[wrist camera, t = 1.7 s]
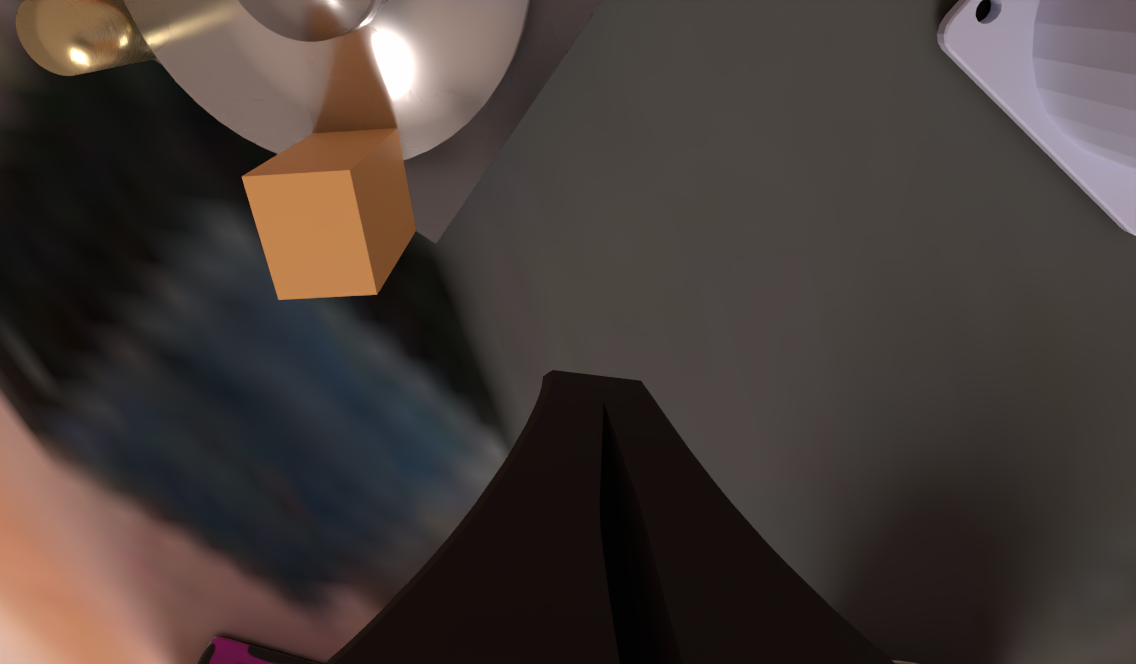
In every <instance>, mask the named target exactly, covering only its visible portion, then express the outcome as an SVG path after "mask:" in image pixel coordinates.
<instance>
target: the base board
mask: <svg viewBox="0 0 1136 664" xmlns="http://www.w3.org/2000/svg"><path fill="white" fill-rule="evenodd" d="M601 1H602V0H530V5H529V10H528V14H527V19H526V23H525V28H524V31H523V34H522V37H521V40H520V42H519V45H518V48H517V51H516V54H515V56H514V58H513V60H512V62H511V64H510V66H509V68H508V69H507V71H506V73H505V75H504V77H503V78H502V80H501V81H500V83H499V84H498V86H497V87H496V89H495V90H494V92H493V93H492V95H491V96H490V98H489V99H488V100H487V102H486V103H485V105H484V106H483V107H482V108H481V109H480V110H479V111H478V112H477V113H476V115H475V116H474V117H473V118H472V119H471V120H470V121H469V122H468V123H467V124H466V125H465V126H463V127H462V128H461V129H460V130H459V131H457V132H456V133H455V134H454V135H453V136H451V137H450V138H448V139H447V140H445V141H444V142H442V143H440V144H439V145H437V146H435V147H434V148H432V149H431V150H428V151H426V152H424V153H421V154H419V155H417V156H414V157H412V158H410V159H407V160H403V161H404V167H405V172H406V178H407V183H408V189H409V194H410V200H411V205H412V211H413V216H414V222H415V228H416V231H417V232H419V233H420V234H422V235H423V236H425V237H426V238H428V239H429V240H431V241H432V242H434V243H435V244H436V243H437V242H438V240H439V239H440V237H441V236H442V234H443V233H444V232H445V230H446V229H447V227H448V226H449V224H450V223H451V221H452V220H453V218H454V217H455V215H456V214H457V212H458V211H459V210H460V208H461V207H462V205H463V204H464V202H465V201H466V199H467V198H468V196H469V195H470V193H471V192H472V190H473V189H474V188H475V186H476V185H477V183H478V182H479V180H480V179H481V177H482V176H483V174H484V173H485V171H486V170H487V168H488V167H489V166H490V164H491V163H492V161H493V160H494V158H495V157H496V155H497V154H498V152H499V151H500V149H501V148H502V146H503V145H504V144H505V142H506V141H507V139H508V138H509V136H510V135H511V133H512V132H513V130H514V129H515V127H516V126H517V125H518V123H519V122H520V120H521V119H522V117H523V116H524V114H525V113H526V111H527V110H528V108H529V107H530V105H531V104H532V103H533V101H534V100H535V98H536V97H537V95H538V94H539V92H540V91H541V89H542V88H543V86H544V85H545V83H546V82H547V81H548V79H549V78H550V76H551V75H552V73H553V72H554V70H555V69H556V67H557V66H558V64H559V63H560V61H561V60H562V59H563V57H564V56H565V54H566V53H567V51H568V50H569V48H570V47H571V45H572V44H573V42H574V41H575V39H576V38H577V37H578V35H579V34H580V32H581V31H582V29H583V28H584V26H585V25H586V23H587V22H588V20H589V19H590V17H591V16H592V15H593V13H594V12H595V10H596V9H597V7H598V6H599V4H600V3H601ZM16 29H17V34H18V37H19V39H20V41H21V44H22V45H23V47H24V49H25V50H26V52H27V53H28V54H29V55H30V57H31V58H32V59H33V60H34V61H35V62H37V63H38V64H39V65H40V66H42V67H43V68H45V69H47V70H48V71H50V72H53V73H55V74H59V75H64V76H73V75H78V74H83V73H88V72H93V71H98V70H103V69H108V68H113V67H118V66H123V65H128V64H133V63H138V62H143V61H147V60H152V59H154V60H155V61H157V62H158V63H160V64H161V62H160V61H159V60H158V59H157V57H156V56H155V54H154V53H153V51H152V50H151V48H150V47H149V45H148V44H147V42H146V41H145V39H144V37H143V36H142V34H141V33H140V31H139V29H138V28H137V26H136V24H135V22H134V20H133V18H132V16H131V14H130V12H129V10H128V8H127V7H126V5H125V3H124V0H25V1H24V2H23V3H22V4H21V5H20V7H19V9H18V11H17V15H16ZM161 65H162V64H161Z"/></svg>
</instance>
